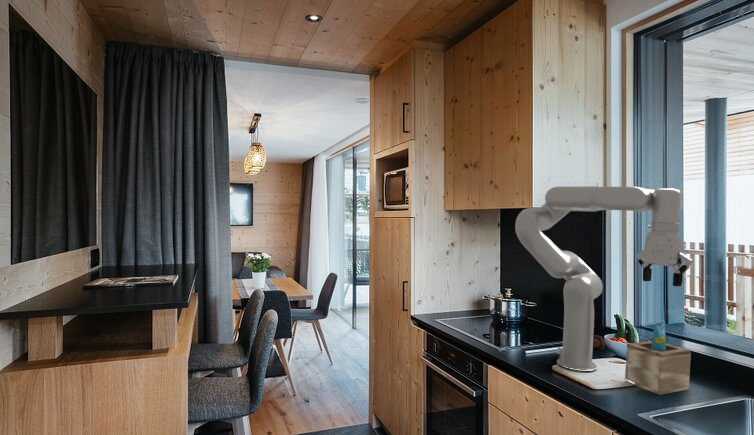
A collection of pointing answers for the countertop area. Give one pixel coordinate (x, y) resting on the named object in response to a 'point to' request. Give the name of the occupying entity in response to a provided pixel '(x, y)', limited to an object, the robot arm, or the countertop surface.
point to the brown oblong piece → (598, 342)
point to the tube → (659, 337)
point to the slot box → (658, 367)
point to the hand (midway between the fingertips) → (661, 283)
